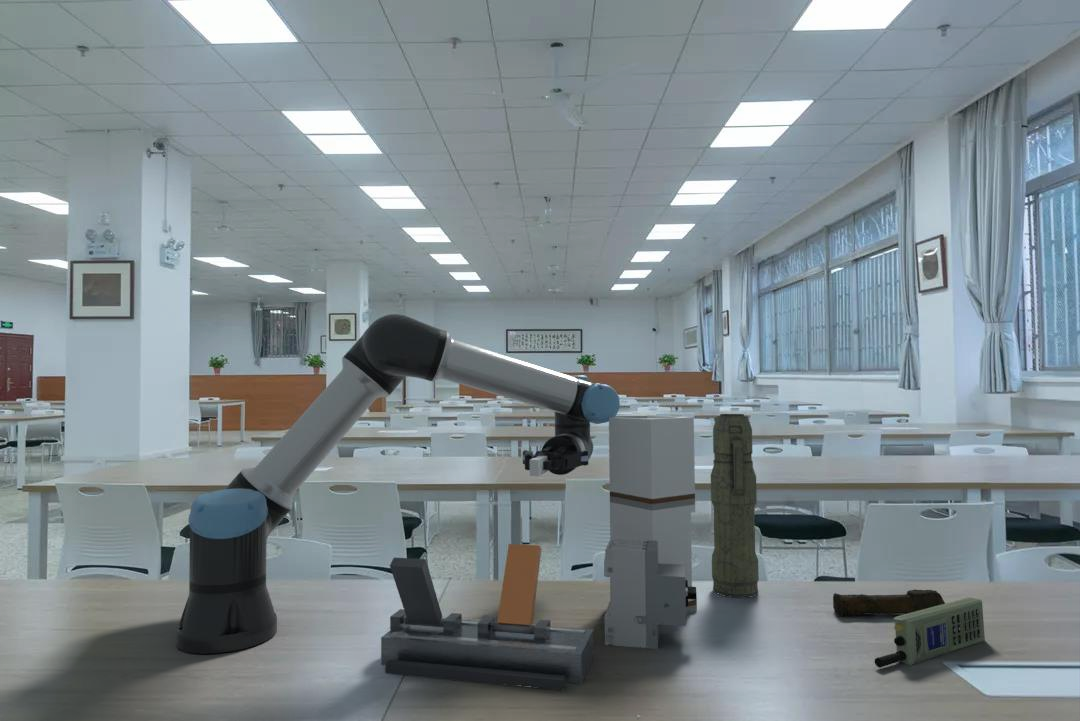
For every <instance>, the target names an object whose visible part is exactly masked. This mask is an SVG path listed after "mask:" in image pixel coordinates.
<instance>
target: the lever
mask: <svg viewBox="0 0 1080 721" xmlns="http://www.w3.org/2000/svg"><path fill="white" fill-rule="evenodd" d="M541 556H542V547H541V545H539V544H518V543H517V544H514V543H508V548H507V555H506V560H505V567H504V574H503V579H502V580H503V581H502V588H501V594H500V601H499V607H498V613H497V621H496V622H497V623H493V626H492V630H493V631H496V632H509V633H522V634H534V627H535V626H532V625H534V624H533V622H534V616H535V606H536V600H537V598H536V597H537V591H538V590H537V589H538V581H539V573H540V565H541V558H542V557H541Z"/></svg>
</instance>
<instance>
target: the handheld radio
mask: <svg viewBox="0 0 1080 721" xmlns="http://www.w3.org/2000/svg"><path fill="white" fill-rule="evenodd" d="M983 608H984V606H983V600H982V599H981V598H977V597H976V598H975V597H965V598H961V599H958V600H955V601H954V600H953V601H949V602H947V603H946V602H945V604H942V605H938V606H934V607H931V608H927V609H923V610H919V611H916V612H912V613H908V614H899V615H897V616H895V617H894V618H893V620H894V630H895V637H894V639H893V643H894V644H895V645H896V646H895V647H896V652H895V653H890V654H885V655H882V656H878V657H875V658H874V663H875V664H874V665H875V666H876V667H877V668H882V667H886V666H889V665H894V664H896V663H898V662H901V663H903V664H907V665H910V666H911V665H914V664H918V663H920V662H921V663H922V662H925V661H926V660H930V659H933V658H937V657H940V656H943V655H945V654H948V653H952V652H955V651H959V650H961V649H964V648H967V647H971V646H973V645H976V644H980V643H982V642H986V637H985V624H984V610H983Z"/></svg>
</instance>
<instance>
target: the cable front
mask: <svg viewBox="0 0 1080 721" xmlns="http://www.w3.org/2000/svg"><path fill="white" fill-rule="evenodd" d="M384 666H385V667H384V668H385V671H384V672H385V673H384V674H387V675H397V676H407V677H408V676H409V677H419V678H420V677H421V678H429V679H438V680H439V679H440V680H451V681H461V682H469V683H478V684H479V683H481V684H489V683H491V685H500V684H503V685H502V686H510V685H521V686H531V687H537V688H536V689H541V688H544V689H543V690H551V689H558V690H557V691H561V690H563V689H564V690H565V688H566V682H565V676H561V675H550V674H539V673H529V672H518V671H507V670H496V669H485V668H474V667H463V666H453V665H442V664H431V663H420V662H409V661H398V660H389V661H388V662H386V663H385V665H384ZM492 683H493V684H492ZM504 684H506V685H504ZM564 690H563V691H564Z"/></svg>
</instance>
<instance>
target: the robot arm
mask: <svg viewBox="0 0 1080 721" xmlns="http://www.w3.org/2000/svg"><path fill="white" fill-rule="evenodd" d="M341 361H342V362H341V363H342V364H341V365H342V369H341V371H340V372H339V373H338V374H337V375H336V377H335V378H334V379H333V380H331V382H330V383H329V384H328V386H326V388H324V390H323V391H322V392H321V393H320V394H319V395H318V396H317V397H316V399H315V400H314V401H313V402H312V403H311V404H310V405H309V406H308V408H306V410H305V411H304V412H303V414H301V416H299V418H298V419H297V420H296V421H295V423H293V424H292V426H291V427H290V428H289V429H288V430H287V431H286V432H285V433H284V435H283V436H282V437H281V438H280V439H279V440H278V442H277V443H276V444H275V445H274V446H273V447H272V448H271V449H270V450H269V451H268V453H267V454H266V455H265V456H264V457H263V458H262V459H261V460H260V462H258V464H257V465H256V466H255V467H249V468H243V469H241V470H240V471H239V472H238V474H237V475H236V476H235V477H234V478H233V479H232V480H231V482H230V483H229V484H228V485H227V486H226V487H225V488H224V489H219V490H213V491H210V492H208V493H207V492H206V493H203V494H201V495H199V496H197V497H196V498H195V499H194V500H193V501H192V503H191V505H190V512H189V515H188V525H189V566H188V567H189V568H188V569H189V574H188V575H189V578H188V579H189V581H188V586H189V588H188V596H187V599H186V602H185V606H184V609H183V611H182V613H181V616H180V617H181V618H180V619H179V620H180V621H179V624H178V626H177V628H176V640H175V641H176V642H175V643H176V647H177V648H178V649H179V650H180V651H184V652H186V653H192V654H203V655H205V654H209V655H210V654H221V653H229V652H234V651H235V652H236V651H240V650H245V649H248V648H252V647H254V646H258V645H259V644H263V643H264V642H267V641H268V640H270V639H272V638H273V637H274V636H275V635H276V634H277V631H278V615H277V614H276V612H275V609H274V605H273V602H272V598H271V596H270V592H269V591H268V588H267V587H268V586H267V540H268V537H269V536H270V534H271V533H273V531H274V530H275V529H276V527H277V526H278V525H279V524H280V523H281V522H282V521H283V520H284V518H285V517H286V516H287V515H288V514H289V512H291V510H292V509H293V505H294V504H293V496H294V495H295V493H296V492H297V491H298V490H299V489H300V488H301V486H302V485H303V484H304V483H305V482H306V480H307V479H308V478H309V477H310V475H312V474H313V472H314V471H316V469H317V468H318V467H319V465H320V464H321V463H323V461H324V460H325V458H326V457H327V456H329V455H330V453H331V452H332V451H333V449H334V448H335V447H336V446H337V445H338V444H339V442H340V441H341V440H342V439H343V438H344V437H345V435H346V434H347V433H348V432H349V431H350V430H351V429H352V427H353V426H354V425H355V424H356V423H357V422H358V421H359V419H360V418H361V417H362V416H363V414H365V412H366V411H367V410H368V409H369V408H370V407H371V406H372V404H373V403H374V402H375V401H376V400H377V399H378V398H386V397H390V395H391V394H392V393H393V392H394V391H395V389H396V388H397V387H398V386H399V385H400V384H401V382H402V381H403V380H404V379H405V378H406V377H410V378H417V379H421V380H426V381H429V382H432V383H433V382H435V381H437V380H439V379H441V380H445V381H448V382H451V383H454V384H459V385H462V386H465V387H468V388H472V389H476V390H479V391H483V392H486V393H490V394H493V395H497V396H499V397H504V398H507V399H509V400H510V399H511V400H514V401H517V402H520V403H524V404H527V405H530V406H534V407H537V408H541V409H544V410H548V411H551V412H554V436H552V437H551V438H549V439H547V441H545V443H544V444H543V446H542V448H541V450H537V451H535V454H534V451H533V450H532V451H531V450H526V449H524V450H523V451H522V464H523V465H524V470H526V471H529V477H540V476H542V475H544V474H545V473H547V472H548V471H549V473H551V474H553V475H557V476H563V475H567V474H570V473H571V472H574V470H576V469H578V467H582V466H584V467H585V466H588V465H589V460H590V458H591V457H592V455H593V452H594V443H593V440H592V438H591V423H592V424H595V425H600V424H605V423H606V424H607V423H609V418H610V417H617V415H618V413H619V411H620V406H621V401H620V397H619V394H618V393H617V391H616V390H615V389H614V387H613V386H610V385H608V384H604V383H601V382H597V383H595V382H591V381H590V379H589V376H587V375H584V374H583V375H577V374H575V375H569V374H565V373H562V372H558V371H556V370H552V369H549V368H546V367H543V366H540V365H537V364H534V363H531V362H529V361H528V362H527V361H524V360H520V359H517V358H514V357H512V356H508V355H506V354H502V353H498V352H495V351H493V350H489V349H486V348H483V347H479V346H476V345H473V344H469V343H466V342H464V341H460V340H456V339H454V338H453V337H452V336H451V334H450V332H449V331H446V330H443V329H440V328H438V327H436V326H432V325H430V324H427V323H424V322H423V321H419V320H418V319H415V318H413V317H410V316H407V315H403V314H399V313H392V314H385V315H383V316H380V317H378V318H377V319H376V320H374V321H373V322H372V323H371V324H370V325H369V327H368V328H367V329H366V330H365V331H364V332H363V334H362V335H361V336H360V337H359V339H357V340H356V342H355V343H354V344H353V345H352V346H351V348H350V349H349V350H348V351H347V352H346V353H345V354H344V356H343V357H342V359H341Z"/></svg>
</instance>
